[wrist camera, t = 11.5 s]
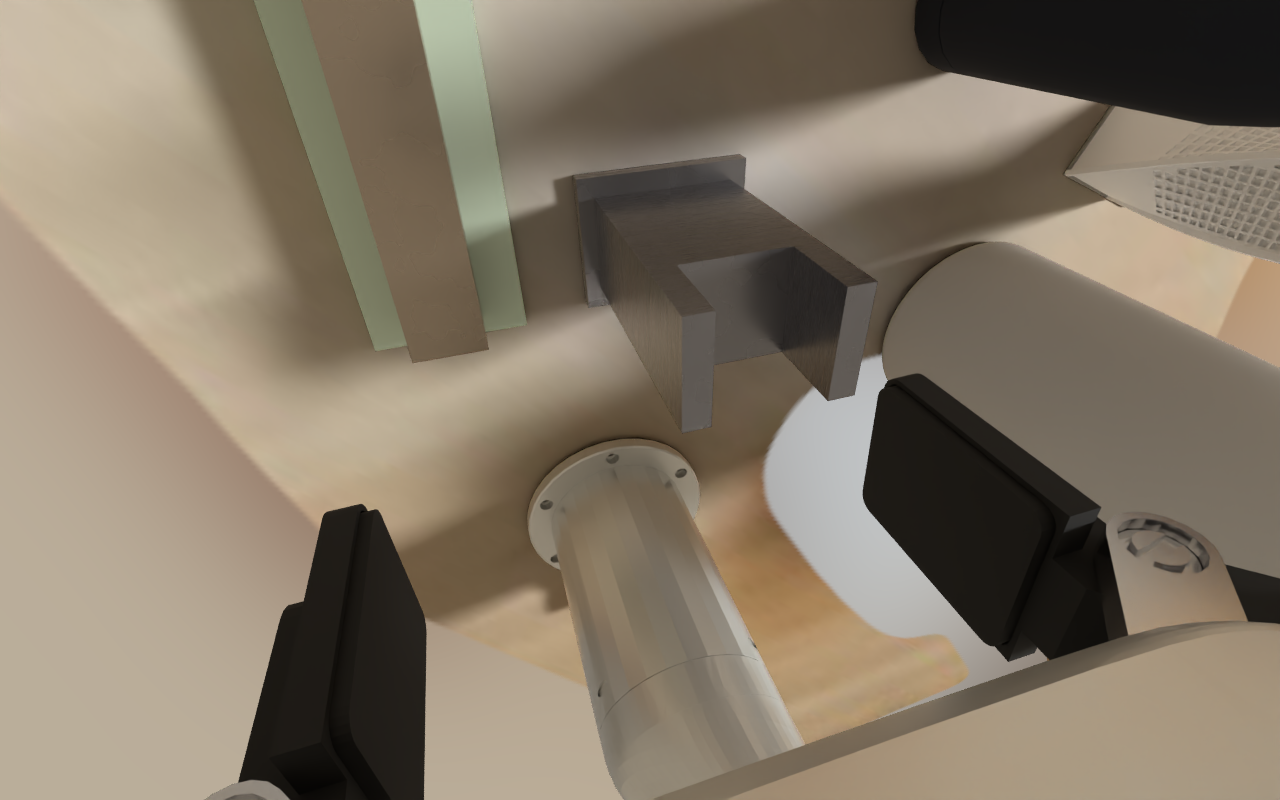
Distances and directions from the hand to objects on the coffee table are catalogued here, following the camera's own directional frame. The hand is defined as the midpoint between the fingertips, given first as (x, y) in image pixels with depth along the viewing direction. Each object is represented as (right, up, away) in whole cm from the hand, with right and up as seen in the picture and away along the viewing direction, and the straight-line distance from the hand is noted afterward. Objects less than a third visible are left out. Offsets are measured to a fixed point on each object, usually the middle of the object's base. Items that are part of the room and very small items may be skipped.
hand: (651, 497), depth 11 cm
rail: (-11, +16, +14) cm, 24 cm away
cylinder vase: (+22, +8, +33) cm, 40 cm away
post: (+1, +11, +22) cm, 25 cm away
